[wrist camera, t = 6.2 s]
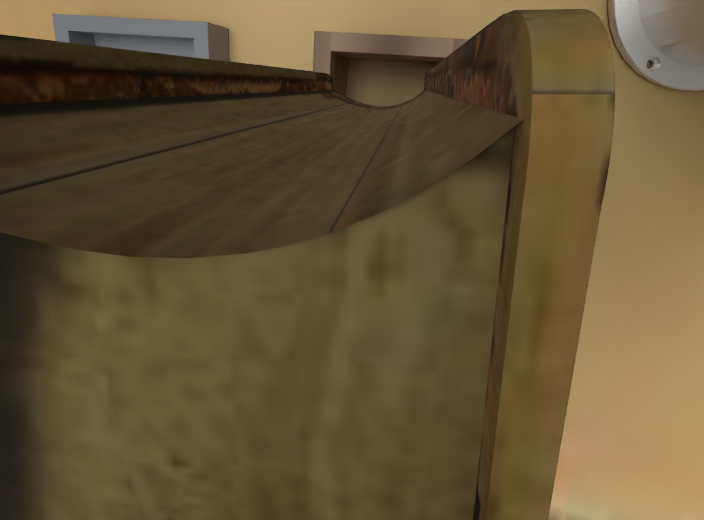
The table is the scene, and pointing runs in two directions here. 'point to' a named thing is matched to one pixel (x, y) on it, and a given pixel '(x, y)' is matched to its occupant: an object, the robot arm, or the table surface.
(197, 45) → the tray
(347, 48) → the frame
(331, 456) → the book
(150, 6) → the table surface
